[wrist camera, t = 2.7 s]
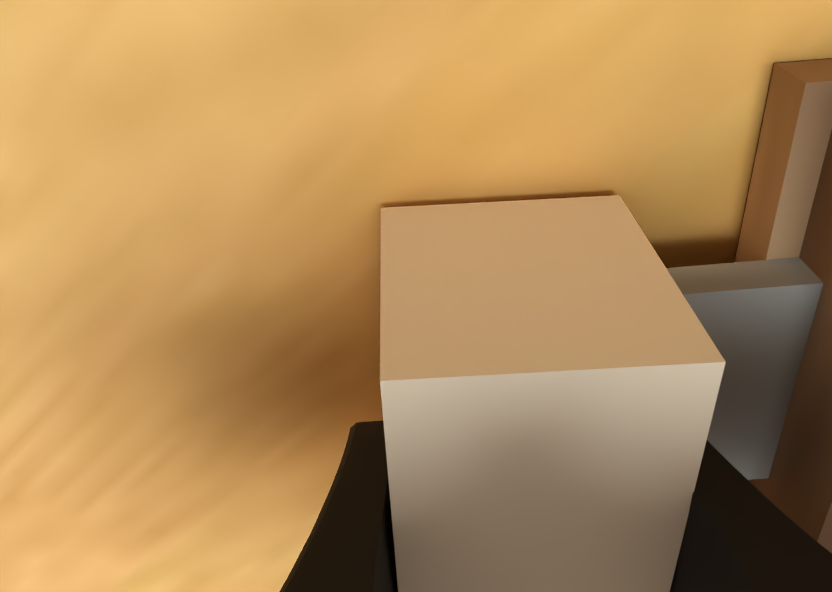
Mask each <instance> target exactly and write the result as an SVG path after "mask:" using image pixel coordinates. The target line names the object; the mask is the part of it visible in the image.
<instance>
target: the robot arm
mask: <svg viewBox="0 0 832 592" xmlns="http://www.w3.org/2000/svg"><path fill="white" fill-rule="evenodd" d="M280 592H398V584H397V573H396V561H395V550H394V538H393V527H392V515H391V503H390V492H389V480H388V469H387V457H386V446H385V434H384V423H383V421H372V422H359V423H356V424H355V425H354V426H352V427H351V428H350V433H349V437H348V441H347V444H346V447H345V451H344V454H343V457H342V460H341V463H340V466H339V468H338V471H337V474H336V476H335V479H334V481H333V484H332V486H331V489H330V491H329V494H328V496H327V498H326V500H325V503H324V505H323V507H322V509H321V512H320V514H319V516H318V519H317V521H316V523H315V525H314V527H313V530H312V532H311V534H310V536H309V538H308V540H307V541H306V543H305V545H304V547H303V549H302V551H301V553H300V555H299V557H298V559H297V561H296V563H295V565H294V567H293V569H292V571H291V572H290V574H289V576H288V578H287V580H286V581H285V583H284V585H283V587H282V588H281V590H280ZM670 592H832V553H831V552H829V551H828V550H827V549H826V548H824V547H823V546H822V545H821V544H819V543H818V542H817V541H816V540H815V539H813V538H812V537H811V536H810V535H809V534H808V533H806V532H805V531H804V530H803V529H802V528H801V527H799V526H798V525H797V524H796V523H795V522H794V521H792V520H791V519H790V518H789V517H788V516H787V515H785V514H784V513H783V512H782V511H781V510H780V509H779V508H778V507H776V506H775V505H774V504H773V503H772V502H771V501H770V500H769V499H768V498H767V497H765V496H764V495H763V494H762V493H761V492H760V491H759V490H758V489H757V488H756V487H755V486H754V485H753V484H752V483H751V482H750V481H748V480H747V479H746V478H745V477H744V476H743V475H742V474H741V473H740V472H739V471H738V470H737V469H736V468H735V467H734V466H733V465H732V464H731V463H730V462H729V461H728V460H727V459H726V458H725V457H724V456H723V455H722V454H721V453H720V452H719V451H718V450H717V449H716V448H715V447H714V446H713V445H712V444H711V443H710V442H709V441H708V440H706V445H705V449H704V453H703V457H702V461H701V465H700V469H699V473H698V477H697V481H696V486H695V490H694V492H693V494H692V499H691V504H690V509H689V514H688V518H687V522H686V527H685V531H684V535H683V539H682V543H681V547H680V551H679V555H678V559H677V563H676V568H675V572H674V576H673V580H672V584H671V588H670Z"/></svg>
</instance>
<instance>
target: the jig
mask: <svg viewBox="0 0 832 592" xmlns="http://www.w3.org/2000/svg"><path fill="white" fill-rule="evenodd" d="M666 269H667V270H668V272H669V274H670V275H671V277H672V278H673V280H674V281H675V283H676V285H677V286H678V288H679V289H680V291H681V292H682V294H683V296H684V297H685V299H686V300H687V302H688V303H689V305H690V307H691V308H692V310H693V311H694V313H695V314H696V316H697V318H698V319H699V321H700V322H701V324H702V325H703V327H704V329H705V330H706V332H707V333H708V335H709V337H710V338H711V340H712V341H713V343H714V344H715V346H716V348H717V349H718V351H719V352H720V354H721V355H722V357H723V359H724V360H725V362H726V363H725V367H724V371H723V375H722V379H721V383H720V387H719V391H718V395H717V399H716V404H715V408H714V412H713V416H712V420H711V424H710V428H709V432H708V436H707V440H708V441H709V442H710V443H711V444H712V445H713V446H714V447H715V448H716V449H717V450H718V451H719V452H720V453H721V454H722V455H723V456H724V457H725V458H726V459H727V460H728V461H729V462H730V463H731V464H732V465H733V466H734V467H735V468H736V469H737V470H738V471H739V472H740V473H741V474H742V475H743V476H744V477H745V478H746V479H747V480H748V481H750V482H751V483H752V484H753V485H754V486H755V487H756V488H757V489H758V490H759V491H760V492H761V493H762V494H763V495H764V496H765V497H767V498H768V499H769V500H770V501H771V502H772V503H773V504H774V505H775V506H776V507H778V508H779V509H780V510H781V511H782V512H783V513H784V514H785V515H787V516H788V517H789V518H790V519H791V520H792V521H794V522H795V523H796V524H797V525H798V526H799V527H801V528H802V529H803V530H804V531H805V532H806V533H808V534H809V535H810V536H811V537H812V538H813V539H815V540H816V541H817V542H818V543H819V544H821V545H822V546H823V547H824V548H826V549H827V550H828V551H829V552H831V553H832V59H820V60H808V61H796V62H784V63H774V67H773V72H772V77H771V82H770V87H769V92H768V97H767V102H766V108H765V113H764V118H763V123H762V128H761V133H760V138H759V143H758V148H757V153H756V158H755V163H754V168H753V173H752V178H751V183H750V188H749V193H748V198H747V203H746V208H745V213H744V218H743V223H742V228H741V233H740V238H739V243H738V248H737V253H736V258H735V262H734V263H722V264H709V265H697V266H685V267H672V268H666Z"/></svg>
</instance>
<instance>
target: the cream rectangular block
mask: <svg viewBox="0 0 832 592" xmlns="http://www.w3.org/2000/svg"><path fill="white" fill-rule="evenodd" d="M725 363H726V362H725V360H724V359H723V357H722V355H721V354H720V352H719V351H718V349H717V348H716V346H715V344H714V343H713V341H712V340H711V338H710V337H709V335H708V333H707V332H706V330H705V329H704V327H703V325H702V324H701V322H700V321H699V319H698V318H697V316H696V314H695V313H694V311H693V310H692V308H691V307H690V305H689V303H688V302H687V300H686V299H685V297H684V296H683V294H682V292H681V291H680V289H679V288H678V286H677V285H676V283H675V281H674V280H673V278H672V277H671V275H670V274H669V272H668V270H667V269H666V267H665V266H664V264H663V263H662V261H661V259H660V258H659V256H658V255H657V253H656V252H655V250H654V248H653V247H652V245H651V244H650V242H649V240H648V239H647V237H646V236H645V234H644V233H643V231H642V229H641V228H640V226H639V225H638V223H637V222H636V220H635V218H634V217H633V215H632V214H631V212H630V211H629V209H628V207H627V206H626V204H625V203H624V201H623V200H622V198H621V196H620V195H613V196H594V197H575V198H556V199H537V200H518V201H499V202H480V203H461V204H443V205H424V206H405V207H386V208H381V278H380V388H381V400H382V411H383V423H384V434H385V446H386V457H387V469H388V480H389V492H390V503H391V515H392V527H393V538H394V550H395V561H396V573H397V584H398V592H670V588H671V584H672V580H673V576H674V572H675V568H676V563H677V559H678V555H679V551H680V547H681V543H682V539H683V535H684V531H685V527H686V522H687V518H688V514H689V509H690V504H691V499H692V494H693V492H694V490H695V486H696V481H697V477H698V473H699V469H700V465H701V461H702V457H703V453H704V449H705V445H706V440H707V436H708V432H709V428H710V424H711V420H712V416H713V412H714V408H715V404H716V399H717V395H718V391H719V387H720V383H721V379H722V375H723V371H724V367H725Z"/></svg>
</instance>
